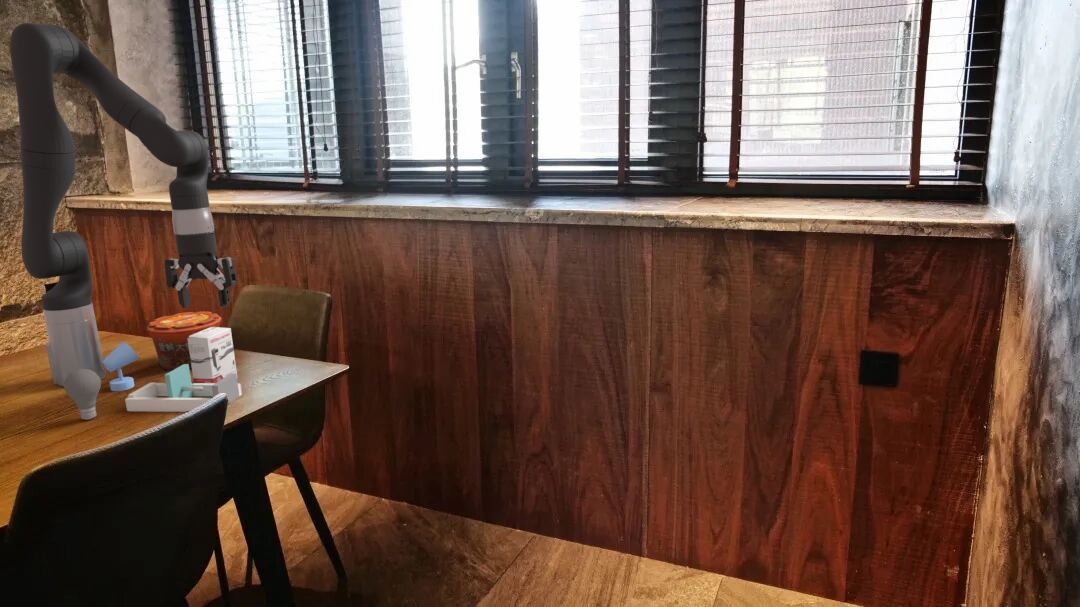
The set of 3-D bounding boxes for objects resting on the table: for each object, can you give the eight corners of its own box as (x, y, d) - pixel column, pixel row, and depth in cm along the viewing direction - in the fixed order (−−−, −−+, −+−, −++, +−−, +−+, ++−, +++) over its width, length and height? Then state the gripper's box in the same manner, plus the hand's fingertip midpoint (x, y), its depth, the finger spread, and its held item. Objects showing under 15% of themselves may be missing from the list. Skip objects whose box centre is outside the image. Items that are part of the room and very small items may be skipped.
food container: (200, 374, 165) (193, 328, 162) (137, 372, 168) (129, 327, 165) (240, 352, 180) (234, 310, 178) (182, 351, 183) (175, 310, 180)
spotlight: (137, 380, 162) (103, 389, 157) (130, 337, 160) (95, 344, 155) (146, 384, 159) (111, 394, 154) (138, 341, 157) (103, 348, 152)
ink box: (214, 391, 153) (206, 337, 150) (194, 390, 154) (185, 337, 151) (239, 377, 162) (231, 326, 159) (219, 377, 162) (211, 326, 160)
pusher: (169, 407, 144) (164, 374, 143) (188, 395, 151) (183, 364, 149) (194, 407, 144) (189, 375, 142) (212, 395, 150) (207, 364, 148)
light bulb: (81, 413, 143) (71, 365, 141) (113, 411, 144) (104, 363, 142) (64, 425, 138) (54, 375, 135) (97, 423, 138) (88, 373, 136)
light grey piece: (127, 411, 144) (122, 387, 143) (155, 394, 153) (151, 371, 152) (218, 411, 142) (214, 387, 141) (241, 394, 151) (238, 371, 150)
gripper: (150, 233, 147) (163, 311, 151) (217, 232, 146) (228, 310, 149) (172, 228, 154) (184, 302, 158) (236, 226, 153) (246, 302, 157)
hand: (205, 306), depth 154 cm, fingers open, 8 cm apart
